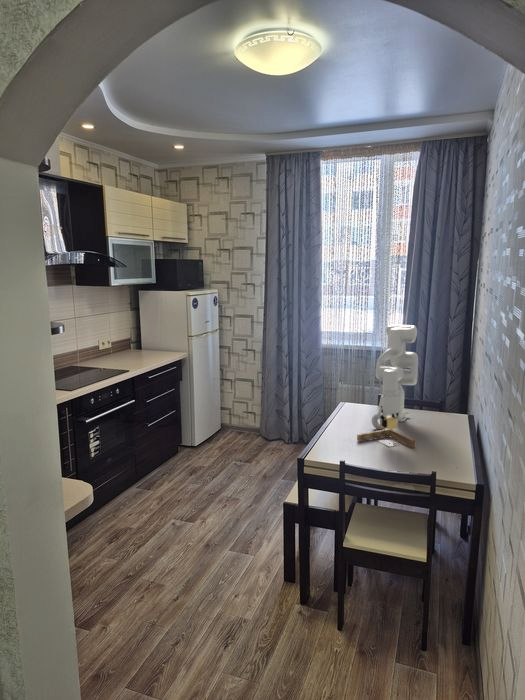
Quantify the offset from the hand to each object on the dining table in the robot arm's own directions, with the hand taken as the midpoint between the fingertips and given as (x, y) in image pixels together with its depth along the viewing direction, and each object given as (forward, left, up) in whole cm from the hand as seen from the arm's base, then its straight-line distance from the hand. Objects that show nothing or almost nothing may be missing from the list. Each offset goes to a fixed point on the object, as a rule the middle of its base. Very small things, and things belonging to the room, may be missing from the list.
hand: (388, 425), depth 245 cm
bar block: (0, 0, -1) cm, 1 cm away
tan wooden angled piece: (+2, +1, -10) cm, 10 cm away
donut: (-10, -19, -10) cm, 24 cm away
